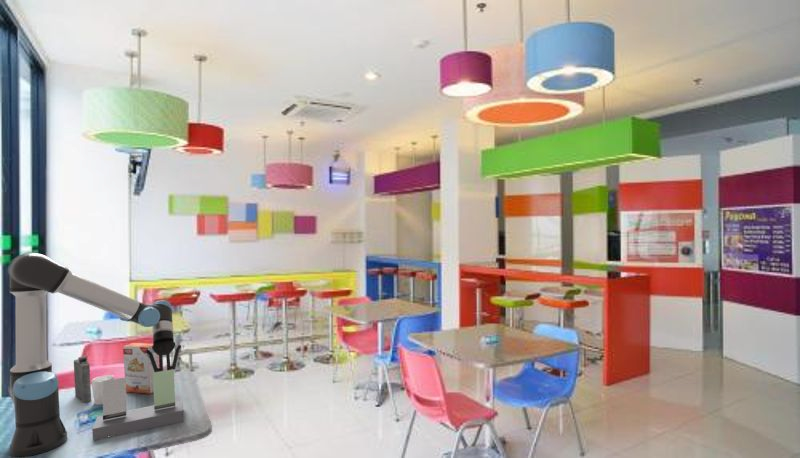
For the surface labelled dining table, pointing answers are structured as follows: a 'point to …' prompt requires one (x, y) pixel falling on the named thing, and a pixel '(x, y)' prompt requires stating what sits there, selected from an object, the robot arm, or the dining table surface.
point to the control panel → (138, 420)
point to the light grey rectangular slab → (114, 398)
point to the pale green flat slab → (164, 389)
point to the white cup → (99, 388)
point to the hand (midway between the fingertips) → (165, 386)
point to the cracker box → (138, 368)
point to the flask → (82, 379)
